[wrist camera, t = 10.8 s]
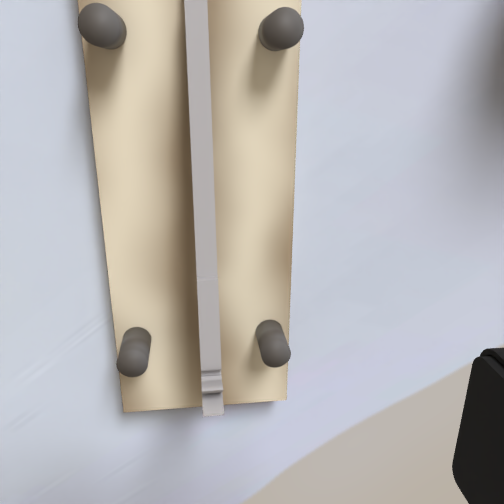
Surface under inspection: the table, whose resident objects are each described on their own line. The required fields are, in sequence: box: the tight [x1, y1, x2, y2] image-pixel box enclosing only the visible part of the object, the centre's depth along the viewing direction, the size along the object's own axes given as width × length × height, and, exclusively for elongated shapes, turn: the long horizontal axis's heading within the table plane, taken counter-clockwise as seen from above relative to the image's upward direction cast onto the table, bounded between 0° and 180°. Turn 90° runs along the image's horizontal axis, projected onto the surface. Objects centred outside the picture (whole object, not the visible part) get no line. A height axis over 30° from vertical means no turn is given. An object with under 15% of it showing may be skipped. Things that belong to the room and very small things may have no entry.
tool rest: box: [78, 0, 304, 412], centre depth 24 cm, size 10×26×4 cm, turn 0°
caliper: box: [184, 0, 224, 417], centre depth 22 cm, size 20×1×6 cm, turn 0°
